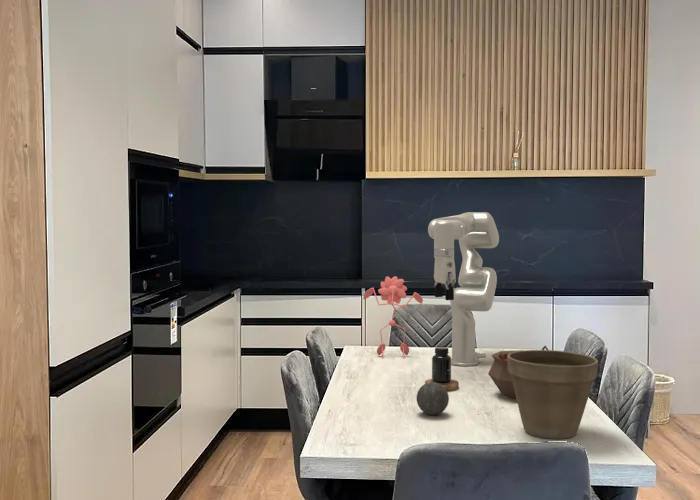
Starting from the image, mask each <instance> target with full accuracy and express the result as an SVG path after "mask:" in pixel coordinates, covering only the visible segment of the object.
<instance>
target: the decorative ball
mask: <svg viewBox="0 0 700 500" xmlns="http://www.w3.org/2000/svg"><path fill="white" fill-rule="evenodd" d="M449 397H450V396H449V391H448V392H447V390H446V389H445V388H444V387H443V386H442V385H441V384H439V383H436V382H429V383H426V384H425V383H424V384H423V385H421V386H420V388H419V389H418V391H417V394H416V403H417V407H419V409H420V410H421V411H422V412H423V413H425V415H431V416H435V415H436V416H437V415H440V414H441V413H442V412H444V411H445V410H446V409H447V408H448V405H449V402H450V398H449Z"/></svg>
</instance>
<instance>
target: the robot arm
mask: <svg viewBox="0 0 700 500" xmlns="http://www.w3.org/2000/svg"><path fill="white" fill-rule="evenodd" d="M495 222H496V221H495V220H494V217H493V216H492V215H491V214H490V213H489V212H487V211H484V212H483V211H482V212H480V211H478V212H477V211H475V212H473V211H471V212H470V211H469V212H467V211H466V212H463V213H461V214H457V215H451V216H445V217H438V218H434V219H432V220H431V221H430V222H429V224H428V227H427V233H428V235H429V238H431V239H433V258H434V268H433V270H434V271H433V276H432V277H433V282H434V297H435V298H443V296H444V298H445V299H444V300H446V301H449V303H450V309H451V366H452V365H453V366H459V367H470V366H477V365H479V363H480V360H479V359H485V358H487V354H486V353H480V352H476V320H475V317H474V315H473V314H472V313H471V312H488V311H490V310H491V309H492V307H493V303H494V298H495V293H496V288H497V283H498V276H497V273H496V270H495V269H494V268H493V267H489V266H488V267H486V266H485V267H483V258H482V256H481V255H480V254H479V252H478V251H477V250H476V249H494V248H496V247H497V246H499V245H498V244H500V243H499V242H500V235H499V231H498V229H497V225H496V223H495ZM455 240H458V243H459V248H460V252H461V253H460V254H461V256H462V262H461V266H460V271H459V275H458V281H457V280H456V279H457V277H456V275H457V274H456V263H455ZM456 281H457V282H458V285H459V286H460V287H456V288H455V285H456V283H457V282H456ZM443 285H444V286H445V291H444V286H443ZM444 293H445V294H444Z"/></svg>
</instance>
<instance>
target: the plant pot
mask: <svg viewBox="0 0 700 500" xmlns="http://www.w3.org/2000/svg"><path fill="white" fill-rule="evenodd" d="M516 351H517V352H512V353H509V354H508V355H507V366H508V373H509V374H511V377H512V382H513V386H514V390H515V395H516V399H517V400H516V403H517V406H518V411H519V414H520V415H519V416H520V419H521V423H522V427H523V429H524V431H525V432H526V433H527V434H529V435H531V436H535V437H538V438H543V439H551V440H552V439H553V440H563V439H565V440H566V439H571V438H573V437H575V436H577V433H578V431H579V427H580V425H581V421H582V419H583V416H584V413H585V410H586V406H587V404H588V399H589V396H590V393H591V389H592V387H593V383H594V381H595V380H596V379H597V377H598V368H599V360H598V359H597V358H595V357H593V356H590V355H587V354H584V353H578V352H573V351H564V350H553V349H551V350H550V349H548V350H546V349H544V350H542V349H529V350H525V351H518V350H516Z"/></svg>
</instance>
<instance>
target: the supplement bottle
mask: <svg viewBox="0 0 700 500" xmlns="http://www.w3.org/2000/svg"><path fill="white" fill-rule="evenodd" d="M434 353H435V354H434V355H433V356H432V358H431V379H432V381H433V382H436V383H448V382H450V381H451V379H452V364H451V358H452V356H450V355H449V347H444V346H443V347H442V346H437V347H435V348H434Z"/></svg>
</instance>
